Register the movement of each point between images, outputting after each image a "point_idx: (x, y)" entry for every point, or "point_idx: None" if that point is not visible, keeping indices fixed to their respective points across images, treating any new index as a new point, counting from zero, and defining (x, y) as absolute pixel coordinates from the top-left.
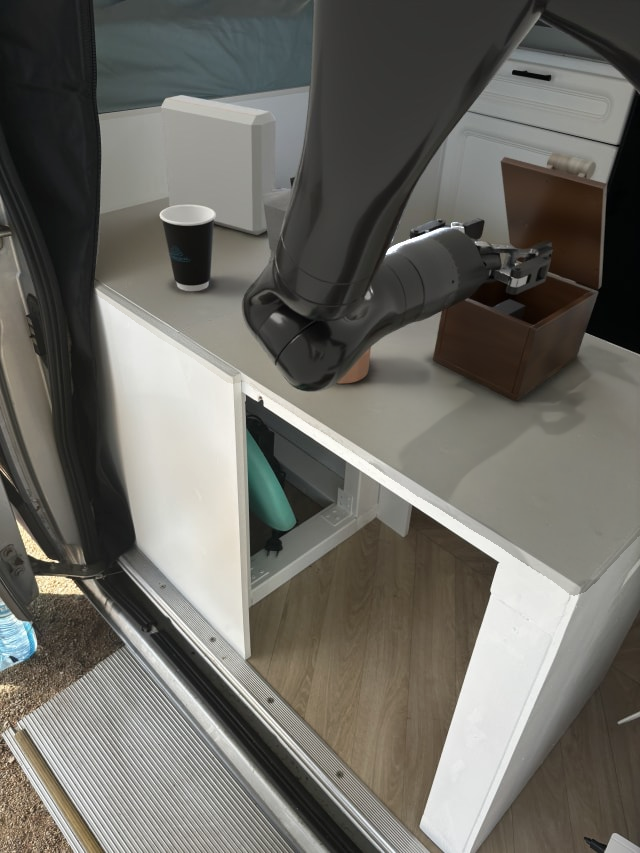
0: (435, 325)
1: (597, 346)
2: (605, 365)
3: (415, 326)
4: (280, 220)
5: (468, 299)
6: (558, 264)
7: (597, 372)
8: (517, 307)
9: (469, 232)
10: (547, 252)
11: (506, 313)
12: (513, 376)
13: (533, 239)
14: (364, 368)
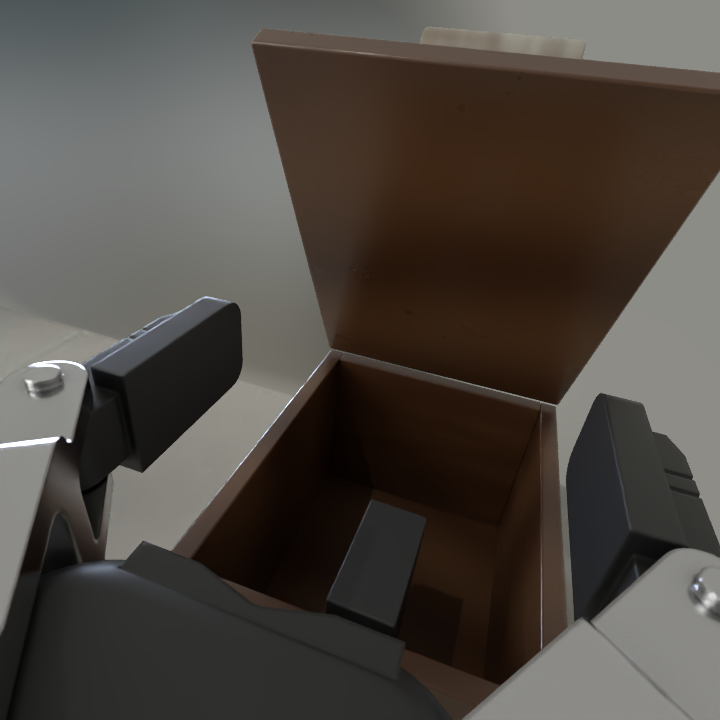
0: (185, 526)
1: None
2: (564, 532)
3: (131, 551)
4: None
5: (248, 598)
6: (456, 359)
7: (568, 566)
8: (410, 540)
9: (163, 394)
10: (701, 503)
11: (393, 597)
12: None
13: (389, 308)
14: None
